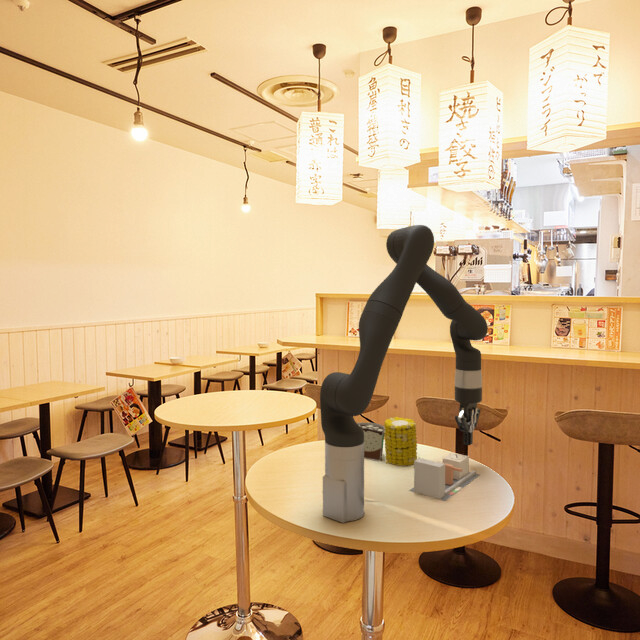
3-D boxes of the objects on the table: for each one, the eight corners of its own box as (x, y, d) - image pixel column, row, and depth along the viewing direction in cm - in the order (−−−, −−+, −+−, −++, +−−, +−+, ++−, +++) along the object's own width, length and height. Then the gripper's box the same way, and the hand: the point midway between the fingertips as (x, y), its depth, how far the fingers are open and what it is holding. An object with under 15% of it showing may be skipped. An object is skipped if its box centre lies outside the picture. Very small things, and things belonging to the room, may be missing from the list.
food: (420, 468, 150) (405, 480, 142) (387, 452, 156) (371, 462, 148) (430, 422, 146) (415, 432, 138) (396, 408, 153) (379, 416, 145)
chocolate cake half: (392, 456, 156) (392, 425, 156) (384, 462, 151) (384, 430, 150) (358, 449, 163) (358, 420, 162) (349, 455, 157) (349, 424, 157)
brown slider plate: (460, 487, 126) (460, 468, 126) (435, 481, 131) (435, 462, 131) (462, 486, 127) (462, 467, 127) (437, 479, 132) (437, 461, 131)
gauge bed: (445, 506, 119) (445, 468, 119) (408, 496, 125) (409, 459, 125) (480, 479, 136) (480, 446, 135) (446, 471, 142) (446, 439, 142)
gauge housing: (454, 483, 129) (455, 464, 129) (437, 479, 132) (437, 459, 132) (468, 473, 136) (469, 455, 136) (451, 469, 139) (452, 451, 139)
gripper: (471, 390, 133) (471, 453, 134) (489, 382, 143) (489, 441, 144) (445, 387, 137) (445, 447, 138) (465, 379, 148) (464, 436, 149)
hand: (468, 444), depth 141 cm, fingers closed
